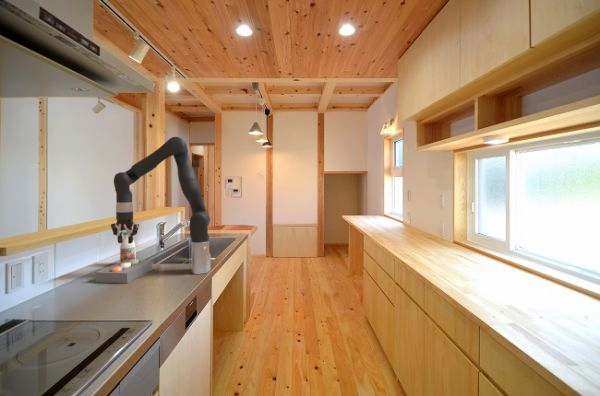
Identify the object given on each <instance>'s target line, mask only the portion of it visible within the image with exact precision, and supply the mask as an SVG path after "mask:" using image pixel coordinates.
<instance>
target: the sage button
mask: <svg viewBox="0 0 600 396" xmlns="http://www.w3.org/2000/svg"><path fill="white" fill-rule="evenodd" d="M129 262H131V264H137V263H139V258H136V259H131V260H129Z"/></svg>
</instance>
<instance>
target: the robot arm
mask: <svg viewBox="0 0 600 396" xmlns="http://www.w3.org/2000/svg"><path fill="white" fill-rule="evenodd" d="M172 156H173V158H174V160H175V164H176V168H177V169H176V170H177V178H178V182H179V185H180V188H181V189H180V190H181V191H182V193H183V196H184V197H185V199H186V200H187V202H188V204H189V206H190V208H191V211H192V215H191V216H190V219H189V237H190V238H191V239H190V240H191V241H190V243H191V247H190V248H191V253H190V254H191V273H192V274H194V275H201V274H203V275H204V274H208V272H210V271H211V253H210V236H209V233H208V231H209V230H208V225H209V224H210V221H211V218H210V214H209V212H208V210H207V208H206V205H205V203H204V199H203V196H202V195H203V194H202V191H201V188H200V184H199V181H198V178H197V174H196V172H195V170H194V167H193V165H192V163H191V160H190V154H189V149H188V145H187V143H186V141H185V140H184V139H182V137H179V136H172V137H170V138H169V139H168V140H166V141H165V142H164V143H163V144H162V145H161V146H160V147H159V148H157V149H156V150H155V151H153V152H152V153H150V154H149V155H147V156H146V157H144V158H142V159H141V160H139V161H138V162H136V163H134V164H133V165H131V167H130V168H129V169H128V170H126V171H124V172H121V171H120V172H118V173H116V174H115V175H114V177H113V186H114V190H115V193H116V195H115V196H116V197H115V198H116V199H115V202H116V205H115V218H116V222H115V223H111V224H110V228H111V231H112V233H113V236H117V243H118V244H121V243H122V242H123V237H124V236H123V232H125V231H126V232H127V233H128V236H129V237H128V243H129V244H131V243H132V242H133V240H134V236H137V234H138V231H139V227H140V224H139V223H134V221H133V220H134V204H133V203H134V202H133V193H132V191H131V189H130V186H131V185H133V184H134V183H135V182H137V181H138V180H140V178H141V177H144V176H145V175H147V174H149V173H150V172H151V171H153V170H154V169H155V168H157V166H159V165H160V164H161V163H162V162H163V161H165V160H166V159H168V158H170V157H172Z"/></svg>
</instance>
